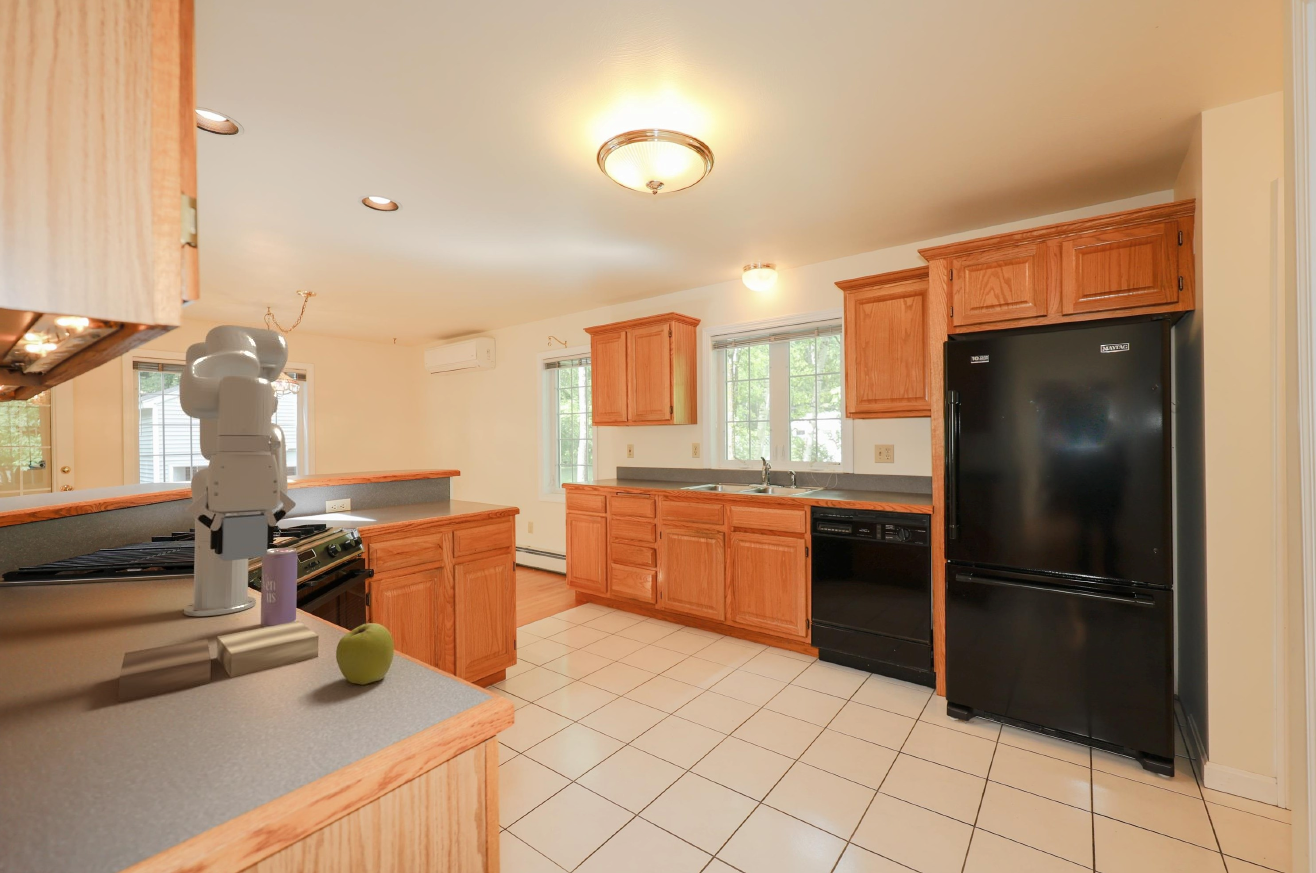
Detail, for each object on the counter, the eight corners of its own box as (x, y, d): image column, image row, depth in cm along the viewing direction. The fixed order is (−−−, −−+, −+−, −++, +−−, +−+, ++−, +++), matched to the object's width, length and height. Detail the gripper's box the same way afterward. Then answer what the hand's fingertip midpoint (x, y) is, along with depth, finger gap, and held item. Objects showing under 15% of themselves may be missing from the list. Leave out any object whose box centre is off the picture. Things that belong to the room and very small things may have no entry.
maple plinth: (216, 659, 95) (217, 636, 95) (298, 642, 104) (298, 620, 104) (231, 679, 87) (231, 653, 87) (318, 659, 96) (318, 635, 96)
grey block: (217, 556, 97) (218, 516, 97) (259, 552, 101) (260, 513, 101) (223, 561, 93) (224, 518, 93) (267, 556, 97) (267, 515, 97)
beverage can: (302, 620, 116) (304, 547, 117) (280, 629, 110) (282, 552, 111) (276, 619, 117) (277, 547, 117) (252, 628, 111) (254, 552, 111)
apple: (402, 658, 92) (397, 605, 89) (387, 692, 85) (382, 635, 82) (350, 661, 91) (343, 607, 88) (330, 696, 83) (323, 639, 81)
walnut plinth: (124, 678, 87) (124, 652, 87) (206, 662, 94) (207, 638, 94) (118, 705, 78) (119, 676, 78) (210, 685, 85) (210, 658, 85)
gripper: (296, 447, 106) (294, 543, 106) (177, 446, 94) (174, 554, 93) (307, 447, 101) (305, 547, 101) (182, 446, 89) (180, 560, 88)
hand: (242, 549), depth 97 cm, fingers closed on grey block, 6 cm apart
